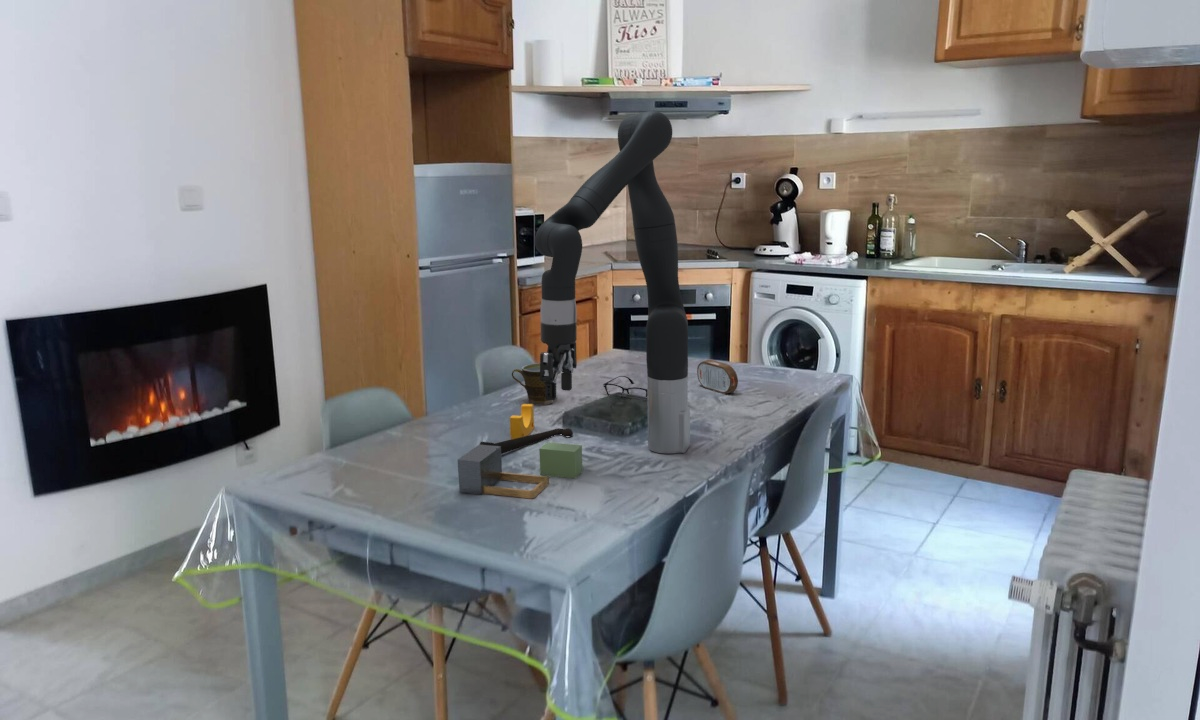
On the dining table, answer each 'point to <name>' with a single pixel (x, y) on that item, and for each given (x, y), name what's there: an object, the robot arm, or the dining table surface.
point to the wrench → (528, 439)
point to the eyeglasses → (622, 387)
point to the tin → (717, 376)
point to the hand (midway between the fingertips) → (558, 394)
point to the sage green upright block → (560, 460)
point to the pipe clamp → (522, 422)
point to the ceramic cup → (533, 384)
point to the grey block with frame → (492, 474)
